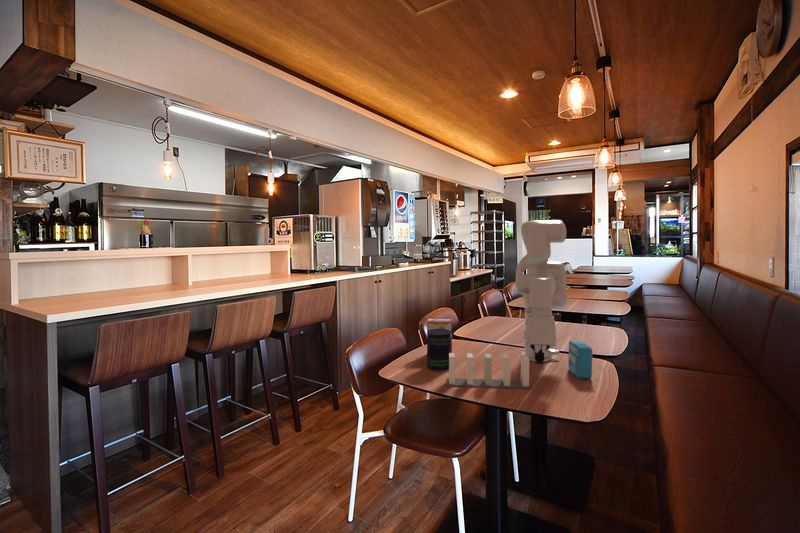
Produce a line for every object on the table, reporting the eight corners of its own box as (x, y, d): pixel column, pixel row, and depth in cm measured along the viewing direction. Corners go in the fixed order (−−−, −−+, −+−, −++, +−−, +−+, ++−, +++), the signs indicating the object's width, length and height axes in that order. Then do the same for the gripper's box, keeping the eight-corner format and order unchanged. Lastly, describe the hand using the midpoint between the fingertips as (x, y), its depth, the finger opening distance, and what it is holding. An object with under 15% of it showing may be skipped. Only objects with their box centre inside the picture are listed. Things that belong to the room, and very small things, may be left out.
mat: (527, 381, 149) (527, 380, 149) (531, 388, 142) (531, 387, 142) (446, 379, 153) (446, 378, 153) (447, 386, 145) (447, 385, 145)
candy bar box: (426, 357, 180) (426, 320, 179) (427, 354, 185) (427, 318, 184) (452, 357, 179) (452, 321, 178) (451, 354, 184) (451, 318, 183)
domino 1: (454, 379, 151) (454, 353, 150) (454, 384, 146) (454, 357, 145) (449, 379, 151) (449, 352, 151) (449, 384, 146) (449, 356, 146)
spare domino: (489, 380, 150) (490, 353, 149) (491, 385, 145) (491, 357, 144) (484, 380, 150) (484, 353, 149) (485, 385, 145) (485, 357, 144)
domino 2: (472, 379, 150) (472, 353, 150) (473, 384, 145) (473, 357, 145) (466, 379, 151) (466, 353, 150) (467, 384, 146) (467, 357, 145)
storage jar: (447, 372, 160) (447, 335, 159) (423, 369, 163) (423, 333, 162) (453, 364, 169) (453, 329, 168) (430, 362, 173) (430, 328, 171)
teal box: (568, 369, 162) (568, 339, 161) (579, 369, 162) (580, 339, 161) (579, 380, 150) (580, 348, 149) (591, 380, 150) (592, 348, 149)
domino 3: (508, 380, 149) (508, 354, 148) (510, 385, 144) (510, 358, 143) (502, 380, 149) (502, 354, 148) (504, 385, 144) (504, 358, 143)
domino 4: (526, 381, 148) (526, 354, 147) (528, 386, 143) (529, 358, 142) (520, 381, 148) (520, 354, 148) (523, 386, 143) (523, 358, 143)
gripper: (520, 313, 140) (519, 365, 142) (565, 314, 139) (564, 366, 140) (516, 309, 148) (516, 359, 149) (559, 310, 146) (558, 360, 147)
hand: (539, 362), depth 145 cm, fingers closed
